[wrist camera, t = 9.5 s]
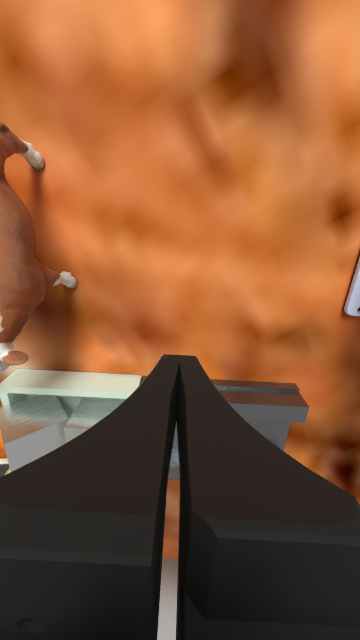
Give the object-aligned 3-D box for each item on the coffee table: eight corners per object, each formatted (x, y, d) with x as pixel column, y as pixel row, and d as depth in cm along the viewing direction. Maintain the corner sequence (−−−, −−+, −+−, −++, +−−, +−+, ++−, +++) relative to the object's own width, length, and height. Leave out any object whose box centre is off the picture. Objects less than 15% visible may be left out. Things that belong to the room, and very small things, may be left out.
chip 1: (52, 390, 21) (68, 418, 19) (57, 426, 23) (72, 457, 20) (-5, 409, 19) (4, 444, 16) (5, 448, 20) (14, 486, 17)
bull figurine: (34, 331, 20) (-59, 399, 12) (-20, 128, 15) (-233, 30, 7) (88, 330, 20) (28, 397, 12) (51, 125, 15) (-91, 21, 7)
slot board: (295, 383, 21) (309, 404, 19) (275, 460, 24) (285, 486, 22) (142, 376, 21) (137, 395, 19) (143, 453, 24) (139, 479, 22)
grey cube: (131, 395, 21) (120, 432, 18) (131, 431, 23) (120, 471, 19) (85, 391, 21) (64, 427, 18) (87, 427, 23) (68, 467, 19)
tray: (141, 375, 21) (136, 393, 19) (142, 454, 24) (138, 477, 22) (17, 368, 21) (-3, 385, 19) (35, 448, 24) (20, 471, 22)
